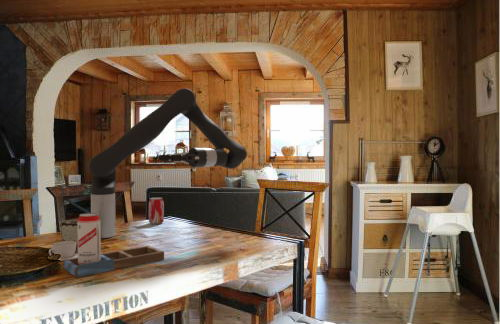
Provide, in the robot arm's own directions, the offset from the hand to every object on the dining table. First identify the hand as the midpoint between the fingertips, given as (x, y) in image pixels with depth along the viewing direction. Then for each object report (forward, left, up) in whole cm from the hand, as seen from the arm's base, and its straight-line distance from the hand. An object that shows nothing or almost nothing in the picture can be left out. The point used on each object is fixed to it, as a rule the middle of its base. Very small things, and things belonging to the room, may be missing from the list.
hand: (164, 157), depth 142 cm
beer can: (+9, -30, -32) cm, 45 cm away
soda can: (-44, +20, -32) cm, 58 cm away
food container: (-17, -24, -32) cm, 44 cm away
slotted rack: (+9, -22, -32) cm, 40 cm away
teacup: (-9, -32, -32) cm, 46 cm away
